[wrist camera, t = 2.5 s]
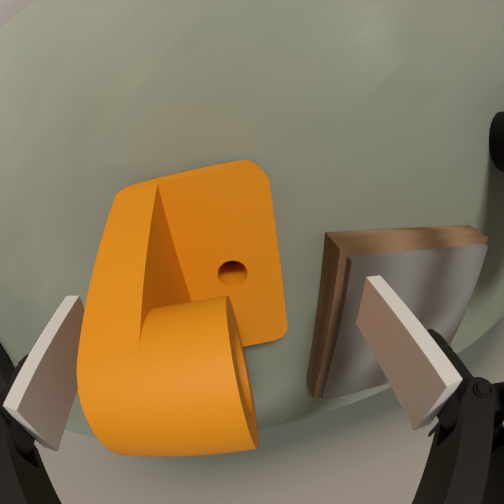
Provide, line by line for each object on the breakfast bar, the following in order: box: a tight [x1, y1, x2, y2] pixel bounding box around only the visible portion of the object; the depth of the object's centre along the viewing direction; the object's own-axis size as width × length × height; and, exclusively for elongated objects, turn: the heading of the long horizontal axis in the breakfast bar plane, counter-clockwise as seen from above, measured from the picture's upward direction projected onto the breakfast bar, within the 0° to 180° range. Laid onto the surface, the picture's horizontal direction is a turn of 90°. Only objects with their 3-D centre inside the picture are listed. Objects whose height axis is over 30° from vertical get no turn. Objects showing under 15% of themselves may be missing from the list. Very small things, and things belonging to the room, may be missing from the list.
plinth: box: [307, 226, 488, 400], centre depth 20 cm, size 14×14×3 cm
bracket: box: [77, 160, 287, 457], centre depth 12 cm, size 11×7×12 cm, turn 9°
